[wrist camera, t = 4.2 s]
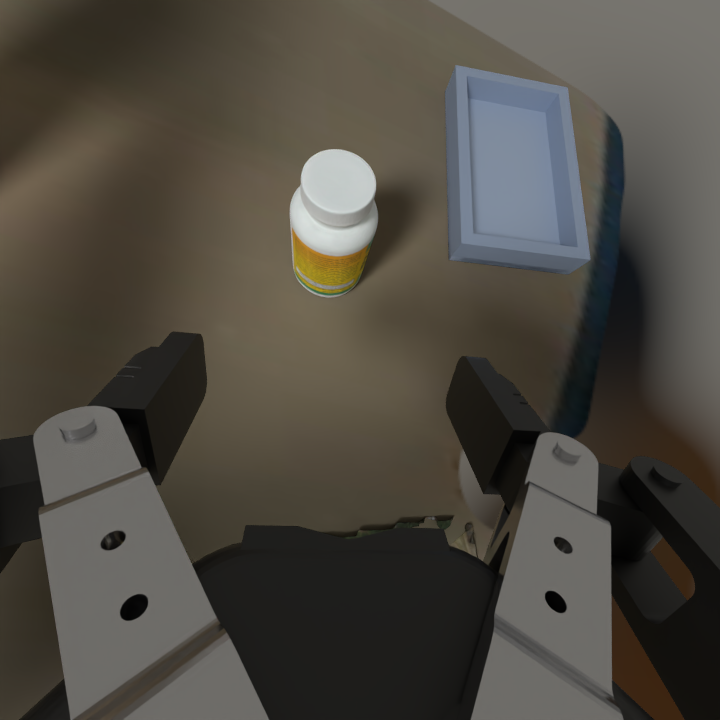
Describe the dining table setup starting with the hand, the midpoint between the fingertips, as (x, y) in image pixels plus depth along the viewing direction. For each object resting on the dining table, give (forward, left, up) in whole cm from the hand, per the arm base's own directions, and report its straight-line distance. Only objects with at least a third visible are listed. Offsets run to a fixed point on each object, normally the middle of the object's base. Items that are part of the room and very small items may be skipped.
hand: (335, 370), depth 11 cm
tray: (+27, -3, -14) cm, 31 cm away
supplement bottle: (+10, +5, -14) cm, 18 cm away
